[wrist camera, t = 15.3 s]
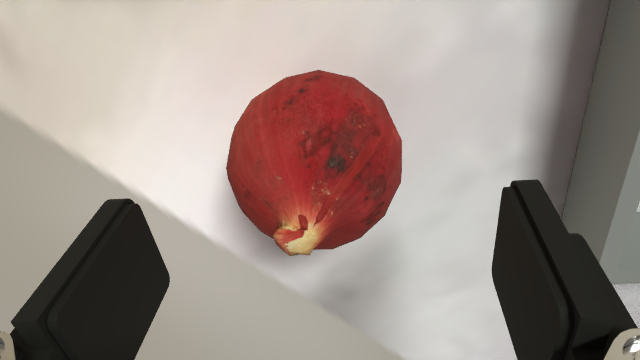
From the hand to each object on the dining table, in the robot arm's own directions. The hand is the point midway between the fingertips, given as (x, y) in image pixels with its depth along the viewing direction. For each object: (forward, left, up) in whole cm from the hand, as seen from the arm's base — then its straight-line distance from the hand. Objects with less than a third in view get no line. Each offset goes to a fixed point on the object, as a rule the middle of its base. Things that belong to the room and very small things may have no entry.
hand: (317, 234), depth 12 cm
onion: (0, 0, -8) cm, 8 cm away
